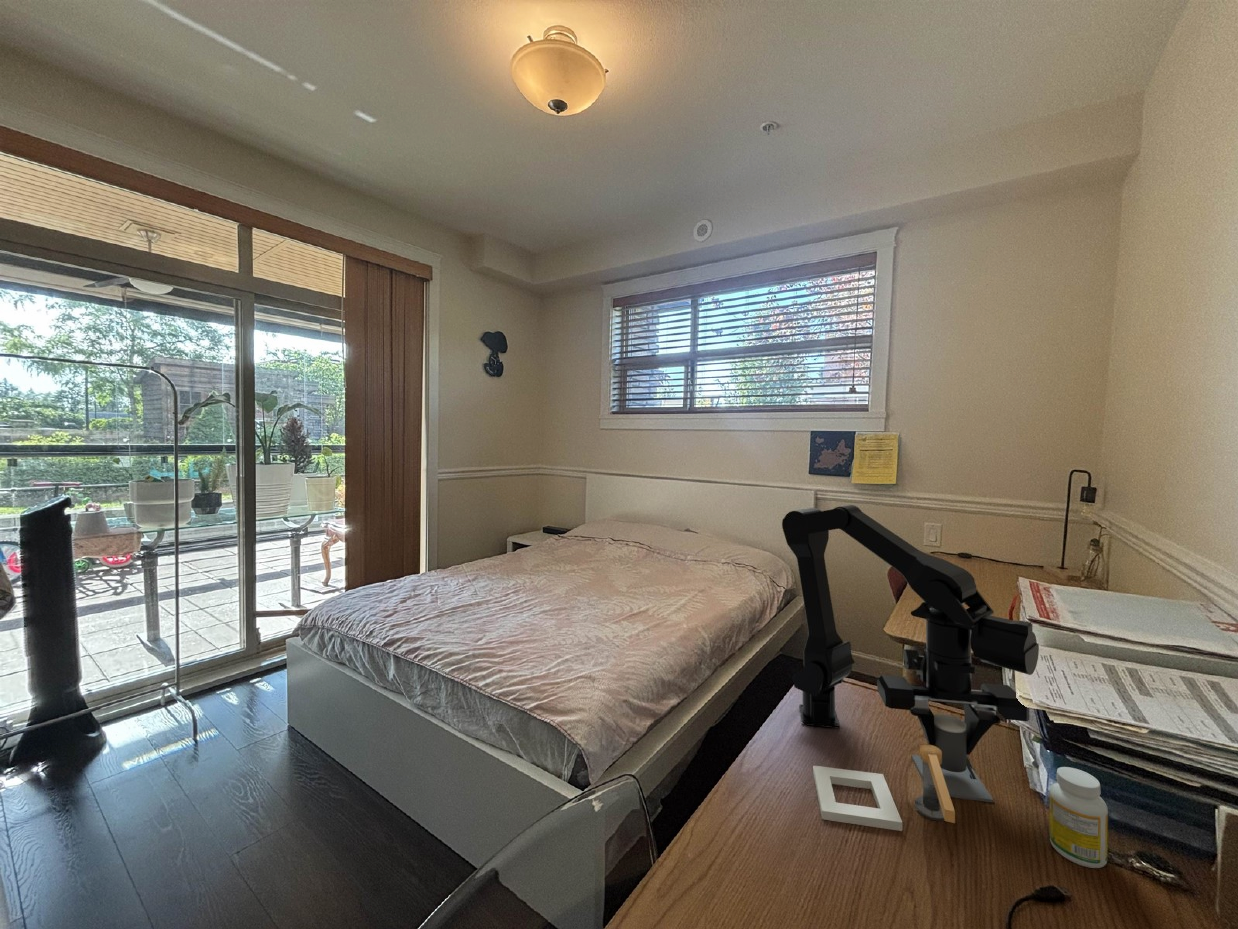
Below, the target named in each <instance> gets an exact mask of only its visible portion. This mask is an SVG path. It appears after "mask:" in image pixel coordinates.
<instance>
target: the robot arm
mask: <svg viewBox="0 0 1238 929" xmlns="http://www.w3.org/2000/svg"><path fill="white" fill-rule="evenodd" d="M781 527H782V532H783V534H784V535H783V536H784V538H785V541H786V544H787V546H788V547H789V549H790V550H791V552H792V553H793V554H794V556H795V557H796V562H797V567H798V573H799V579H800V580H799V581H800V587H801V592H802V594H801V595H802V600H803V605H804V613H805V619H806V625H807V631H808V633H807V634H808V636H807V639H806V642H805V645H804V649H803V667H802V668H801V669H799V670H798V671H797V672H795V673H794V674H792V675H791V680H792V683H793V685H794V688H795V689H797V690H798V691H799V690H800V691H801V692H802V704H801V703H800V704H799V713H801V714H800V719H801V723H802V724H803V725H808V726H816V727H827V728H834V729H835V728H837V729H838V728H839V729H840V728H841V723H840V720H839V718H838V714H837V712H836V687H835V686H838V685H839V684H842V683H843V682H844V678H846V677H848V676H849V675H850V673H852V669H853V665H854V664H855V662H856V661H855V660H854V658H853V655H852V643H851V641H848V640H846V641H844V640H843V639H842V638H841V637H840V635H839V633H838V632H837V629H836V622H835V616H834V615H835V614H834V609H833V603H832V602H833V601H832V597H831V592H830V585H829V578H828V572H827V567H826V560H825V552H826V548H827V546H828V542H829V539H830V538H829V537H830V536H829V533H830V532H829V531H833V530H838V529H839V530H840V531H842V532H844V533H845V534H846V535H848V536H849V537H851V538H852V539H853V540H855V541H856V542H858V543H859V544H860V545H862V546H863V547H865V548H866V549H867V550H869V551H870V552H871V553H873V554H874V555H875V556H877V557H878V558H879V559H881V560H882V561H883V562H885V563H887V564H888V565H889V566H891V567H892V568H893V569H895V570H896V571H897V572H898V573H899V574H901V575H902V576H903V578H904V579H905V581H906V582H907V584H908V586H909V587H910V589H911V590H912V591H913V592H914V593H915V594H916V595H917V596H918V597H919V598H920V599H921V600H922V601H923V602H921V603H920V605H918V607H917V608H915V609H914V610H911V611H910V615H911V616H913V617H916V618H920V619H922V620H923V619H924V620H925V643H926V645H925V646H926V648H924V649H923V650H924V651H923V655H920V654H919V651H918V650H917V649H911V648H909V649H908V648H903V649H902V650H903V651H902V659H903V667H904V669H906V670H911V671H916V676H920V677H919V678H920V681H921V682H922V683H926V686H921V685H920V686H919V685H911V684H910V683H909V681H908V680H907V679H906V676H898V675H896V676H895V675H886V674H885V675H884V674H881V675H880V676H879V677H878V679H877V680H876V682H877V684H876V686H877V687H876V689H877V692H878V694H879V696H880V698H881V701H882V702H883V704H884V706H885V707H886V708H888V709H892V710H893V709H894V710H904V711H909V713H910V714H911V715H913V716H915V717H917V718H918V721H919V724H920V726H921V729H922V731H923V734H924V738H925V740H926V744H929V745H933V746H935V730H934V715H935V714H934V713H933V711H932V710H931V708H930V705H929V704H930V702H939V703H947V704H948V703H949V704H961V705H963V710H964V711H963V712H964V720H963V721H964V722H965V724H966V754H967V756H970V755H971V753H972V752H973V751H974V749H975V747H976V746H977V745H978V743H979V741H980V740H981V739H982V737H983V736H984V735H985V734H986V733H987V732H988V731H989V729H991V727H993V725H1001V721H1002V720H1001V718H1000V717H999V716H998V715H997V713H998V714H1000V715H1001V717H1003V718H1004V719H1005V720H1006V721H1008V720H1009V721H1017V722H1018V721H1020V722H1028V721H1030V707H1029V708H1027V707H1025V706H1024V705H1022V704H1021V703H1020V702H1019V701H1018V699H1017V698H1016V693H1017V692H1016V691H1015V689H1013V688H1012V687H1011V686H1010V685H1009V684H997V683H985V682H984V683H982V684H981V685H980V689H972V674H975V673H976V672H975V665H974V664H972V653H973V656H974V657H975V658H978V660H979V661H980V662H983V663H986V664H990V665H993V666H997V667H1001V668H1003V669H1007V670H1010V671H1014V672H1019V673H1021V674H1025V675H1028V676H1032V675H1033V674H1034V672H1035V670H1036V668H1037V665H1038V660H1039V652H1040V650H1039V649H1040V647H1039V646H1040V644H1039V643H1037V642H1038V641H1037V637H1036V636H1037V635H1036V633H1035V632H1034V631H1033V623H1032V622H1029V621H1024V620H1013V619H1007V618H1005V617H1004V618H1003V617H999V616H994V613H995V612H994V610H993V608H992V607H991V605H989V603H988V602H987V600H985V597H983V595H982V594H981V593H980V592H979V590H978V589H977V585H976V584H977V583H976V582H975V577H974V576H973V574H971V572H969V571H968V570H966V569H964V568H963V567H960V566H959V565H957V564H954V563H952V562H950V561H948V560H946V559H944V558H940V557H937V556H933V555H931V554H928V553H925V552H923V551H921V550H919V549H918V548H916V547H915V546H914V545H912V544H911V543H909V542H908V541H906V540H904V539H903V538H901V537H900V536H899V535H897V534H896V533H894V532H893V531H891V530H890V529H888V528H887V527H886V526H884V525H882V524H880V523H879V522H878V521H876V520H875V519H873V518H871V517H870V516H869V515H867V514H866V513H864V512H863V511H862V510H861V509H860V508H859V507H858V506H856V505H854V504H846V505H845V504H844V505H840V506H836V507H834V508H831V509H826V510H821V509H819V508H816V507H808V508H802V509H797V510H792V511H791V510H790V511H789V512H787V513H786V514H785V515H784V517H783V518H782V521H781ZM964 605H966V606H967V608H965V606H964ZM996 712H997V713H996Z"/></svg>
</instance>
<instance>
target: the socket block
mask: <svg viewBox="0 0 1238 929" xmlns="http://www.w3.org/2000/svg"><path fill="white" fill-rule="evenodd" d="M812 774H813V779H814V784H815V789H816V794H817V800H818V804H819V810H820V815H821V819H822V820H826V821H833V822H839V823H845V824H853V825H859V826H866V827H872V828H879V829H885V830H891V831H892V830H893V831H897V832H898V831H900V832H903V820H902V818H901V816H900V814H899V811H898V809H897V806H896V804H895V801H894V799H893V796H892V794H891V790H890V789H889V786H888V784H887V781H886V778H885V776H884V774H883V773H876V772H868V771H867V772H866V771H861V770H851V769H845V768H844V769H843V768H834V767H828V766H820V765H813V766H812ZM833 785H837V786H844V787H852V788H859V789H868V790H871V793H872V796H873V798H874V802H875V804H876V806H877V807H871V806H864V805H857V804H856V805H855V804H849V803H842V802H836V801H837V800H836V798H835V793H834V790H833Z"/></svg>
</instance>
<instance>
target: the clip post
mask: <svg viewBox="0 0 1238 929" xmlns="http://www.w3.org/2000/svg"><path fill="white" fill-rule="evenodd" d="M914 809H915V810H916V811H917V812H918V813H919V814H920V815H921V816H922V817H925V818H927V819H929V820H932V821H937V822H943V821H945V820H944V816H943V813H942V809H941V806H940V802H939V799H938V796H937V792H936V789H935V785H934V782H933V778H932V775H931V771H930V768H929V765H928V763H926V762H924V761H923V779H922V795H920V796H918V797H916V798H915V799H914Z"/></svg>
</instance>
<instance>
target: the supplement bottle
mask: <svg viewBox="0 0 1238 929" xmlns="http://www.w3.org/2000/svg"><path fill="white" fill-rule="evenodd" d="M1100 795H1101V784H1100V781H1099V780H1098V779H1097V778H1096V777H1095V776H1093V775H1092V774H1090V773H1088V772H1086V771H1083V770H1081V769H1078V768H1075V767H1069V766H1060V767H1058V768H1057V769H1056V782H1055V783H1053V784H1051V786H1050V789H1049V841H1050V844H1051V846H1052V847H1053V848H1054V850H1055V851H1056V852H1057V853H1058V854H1060V855H1061V856H1062V857H1064V858H1065V859H1066V860H1068V861H1070V862H1073V863H1074V864H1076V865H1079V866H1082V867H1086V868H1089V869H1091V868H1092V869H1100V868H1103V867H1105V866H1106V865H1107V864H1108V826H1109V825H1108V822H1109V821H1108V820H1109V814H1108V813H1109V811H1108V806H1107V804H1106V802H1105V800H1104V799H1103V798H1102V797H1101V796H1100Z"/></svg>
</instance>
